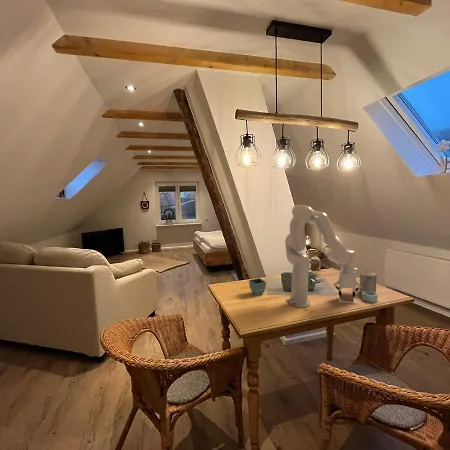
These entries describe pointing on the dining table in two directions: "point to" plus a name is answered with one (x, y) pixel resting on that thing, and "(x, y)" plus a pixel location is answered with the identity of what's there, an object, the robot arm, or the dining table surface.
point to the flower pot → (257, 286)
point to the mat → (346, 301)
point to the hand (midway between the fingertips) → (346, 297)
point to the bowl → (369, 296)
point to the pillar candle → (368, 281)
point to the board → (347, 296)
